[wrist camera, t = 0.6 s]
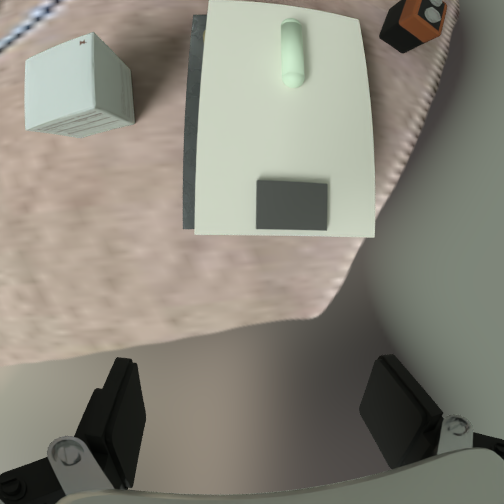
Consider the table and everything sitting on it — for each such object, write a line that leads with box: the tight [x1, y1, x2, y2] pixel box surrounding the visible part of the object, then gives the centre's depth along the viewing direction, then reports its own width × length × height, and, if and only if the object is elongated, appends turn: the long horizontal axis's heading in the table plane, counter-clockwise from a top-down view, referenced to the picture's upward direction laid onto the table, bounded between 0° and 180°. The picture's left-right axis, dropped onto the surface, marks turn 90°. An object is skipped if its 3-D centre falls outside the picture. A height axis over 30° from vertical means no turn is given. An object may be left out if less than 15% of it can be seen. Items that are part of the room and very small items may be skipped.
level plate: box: [195, 0, 375, 237], centre depth 25 cm, size 24×16×4 cm, turn 178°
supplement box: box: [25, 32, 135, 138], centre depth 24 cm, size 7×7×13 cm
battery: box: [379, 0, 447, 53], centre depth 26 cm, size 4×7×10 cm, turn 156°
